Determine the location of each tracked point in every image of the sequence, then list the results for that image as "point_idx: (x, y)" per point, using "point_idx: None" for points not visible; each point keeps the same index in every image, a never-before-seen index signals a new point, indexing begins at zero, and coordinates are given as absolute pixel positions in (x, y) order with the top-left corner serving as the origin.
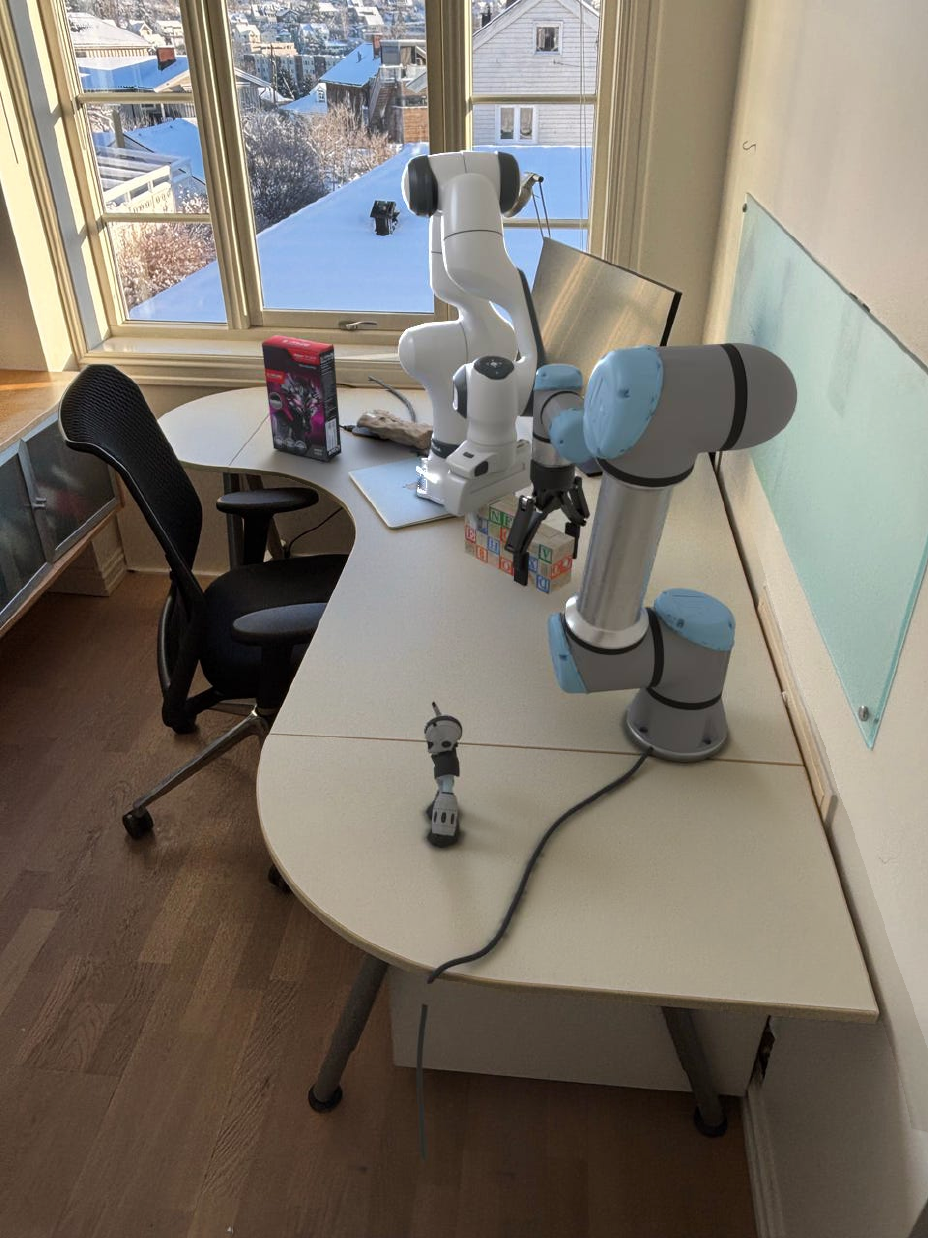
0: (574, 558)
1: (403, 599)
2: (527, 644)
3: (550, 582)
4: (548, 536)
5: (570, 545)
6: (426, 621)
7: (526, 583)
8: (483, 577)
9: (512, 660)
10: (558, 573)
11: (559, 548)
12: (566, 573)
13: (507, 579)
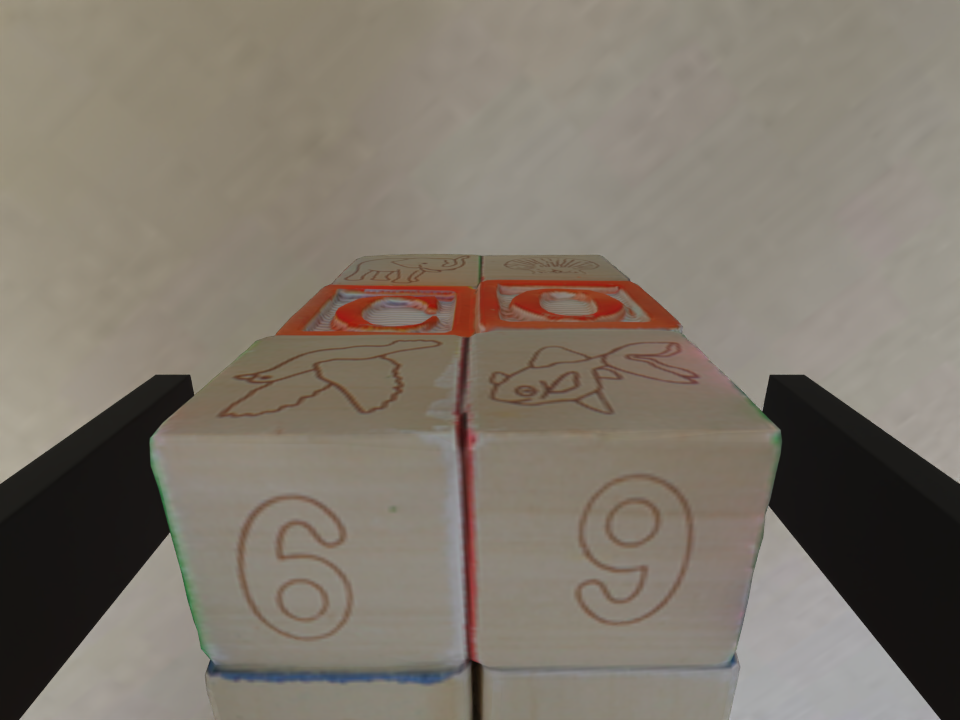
0: (182, 379)
1: (773, 707)
2: (745, 186)
3: (619, 275)
4: (464, 701)
5: (293, 387)
6: None
7: (796, 384)
8: None
9: (907, 144)
10: (523, 285)
11: (576, 407)
12: (401, 278)
13: None
